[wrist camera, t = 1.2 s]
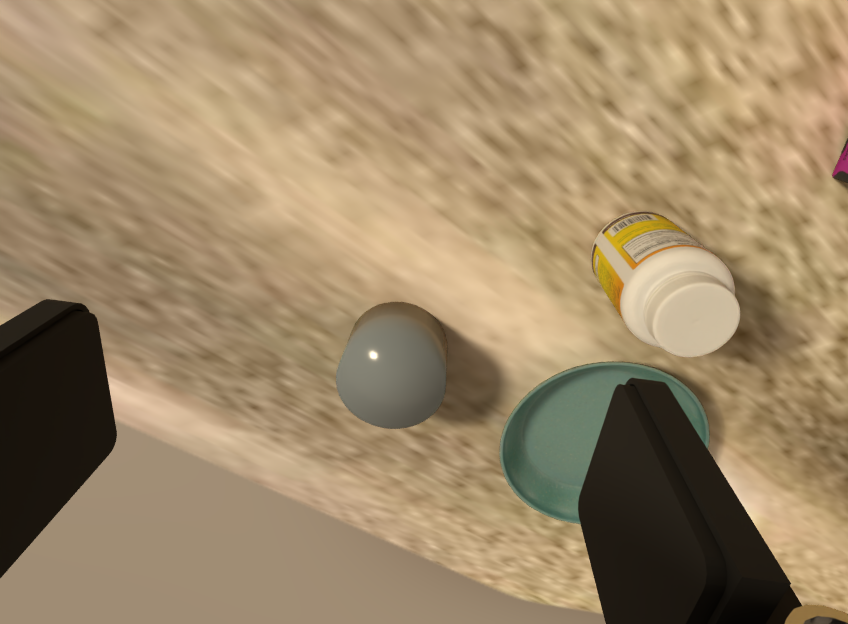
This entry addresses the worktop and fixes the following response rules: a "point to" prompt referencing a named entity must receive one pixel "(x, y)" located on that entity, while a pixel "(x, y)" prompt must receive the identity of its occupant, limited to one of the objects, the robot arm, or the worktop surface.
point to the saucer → (572, 432)
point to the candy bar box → (842, 165)
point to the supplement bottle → (665, 284)
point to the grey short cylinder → (394, 366)
